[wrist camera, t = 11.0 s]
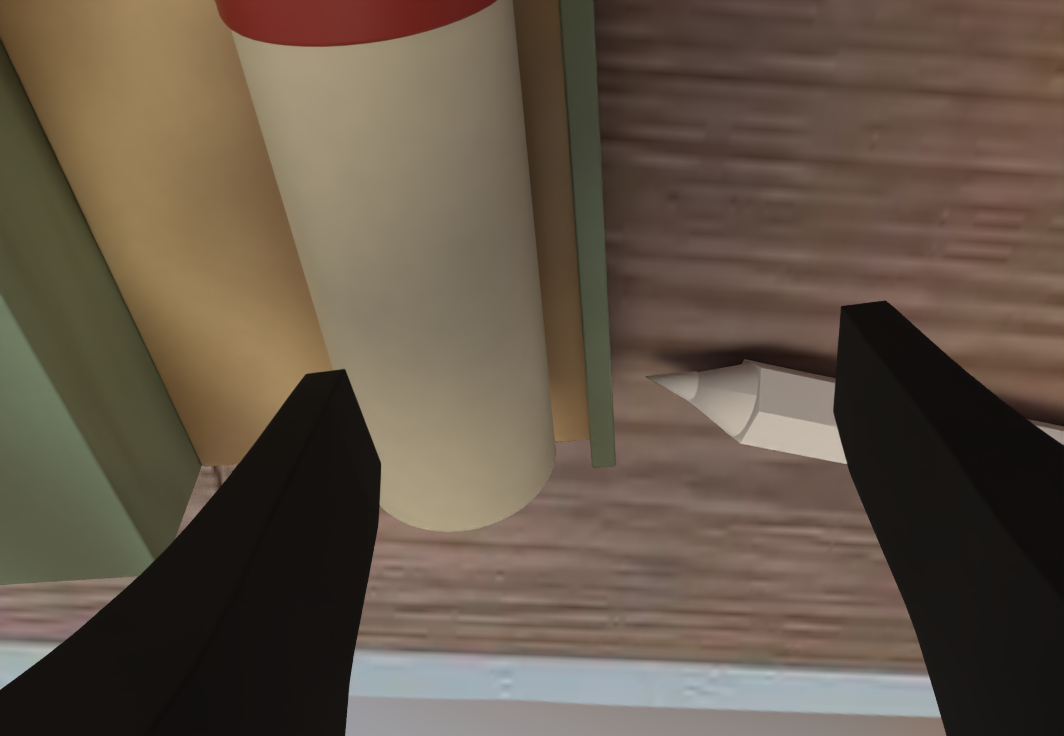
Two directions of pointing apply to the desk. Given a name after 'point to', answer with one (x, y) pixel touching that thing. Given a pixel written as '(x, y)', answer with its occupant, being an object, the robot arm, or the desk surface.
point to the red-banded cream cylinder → (414, 235)
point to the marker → (774, 407)
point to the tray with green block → (209, 268)
